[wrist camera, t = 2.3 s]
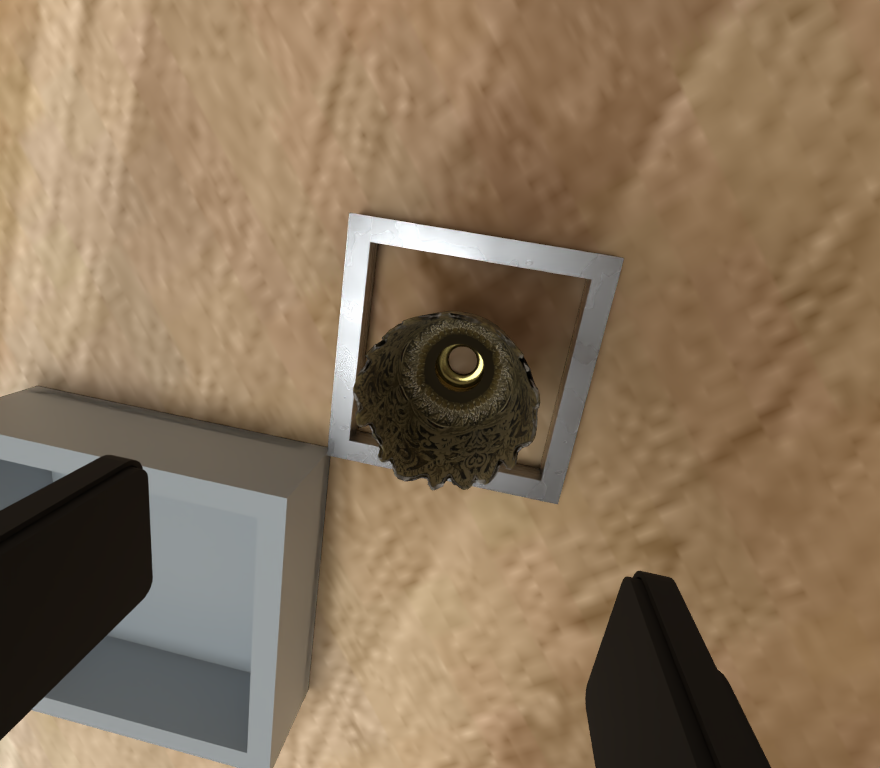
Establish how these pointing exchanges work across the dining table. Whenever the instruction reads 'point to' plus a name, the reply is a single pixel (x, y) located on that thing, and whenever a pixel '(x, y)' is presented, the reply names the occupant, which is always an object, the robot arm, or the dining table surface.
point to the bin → (190, 574)
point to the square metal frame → (490, 249)
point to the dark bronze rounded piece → (447, 400)
